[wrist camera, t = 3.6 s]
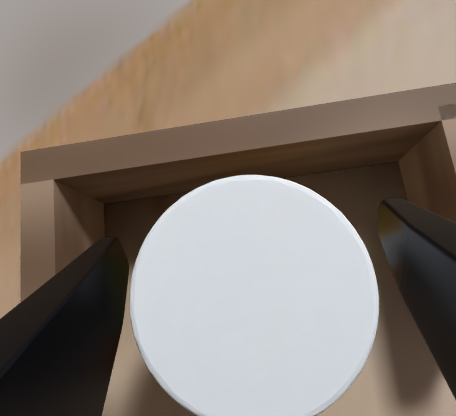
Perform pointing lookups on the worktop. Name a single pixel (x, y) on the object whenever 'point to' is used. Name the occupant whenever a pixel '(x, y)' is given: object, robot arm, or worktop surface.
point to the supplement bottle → (254, 300)
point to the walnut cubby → (231, 164)
